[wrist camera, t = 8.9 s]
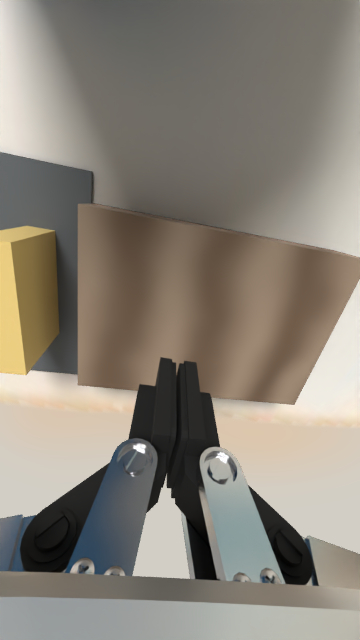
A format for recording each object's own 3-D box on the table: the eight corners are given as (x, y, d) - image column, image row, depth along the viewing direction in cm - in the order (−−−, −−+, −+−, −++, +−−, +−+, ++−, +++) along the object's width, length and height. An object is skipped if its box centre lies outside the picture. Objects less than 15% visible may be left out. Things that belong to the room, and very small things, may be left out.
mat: (92, 172, 17) (91, 171, 17) (87, 373, 25) (87, 375, 24) (-138, 122, 15) (-144, 121, 15) (-66, 358, 23) (-68, 360, 22)
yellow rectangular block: (10, 242, 13) (-31, 235, 13) (26, 375, 17) (-5, 372, 16) (55, 230, 18) (27, 225, 18) (59, 332, 22) (36, 330, 22)
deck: (333, 250, 21) (369, 260, 17) (276, 377, 27) (294, 404, 23) (94, 203, 18) (77, 203, 14) (90, 357, 24) (77, 385, 20)
